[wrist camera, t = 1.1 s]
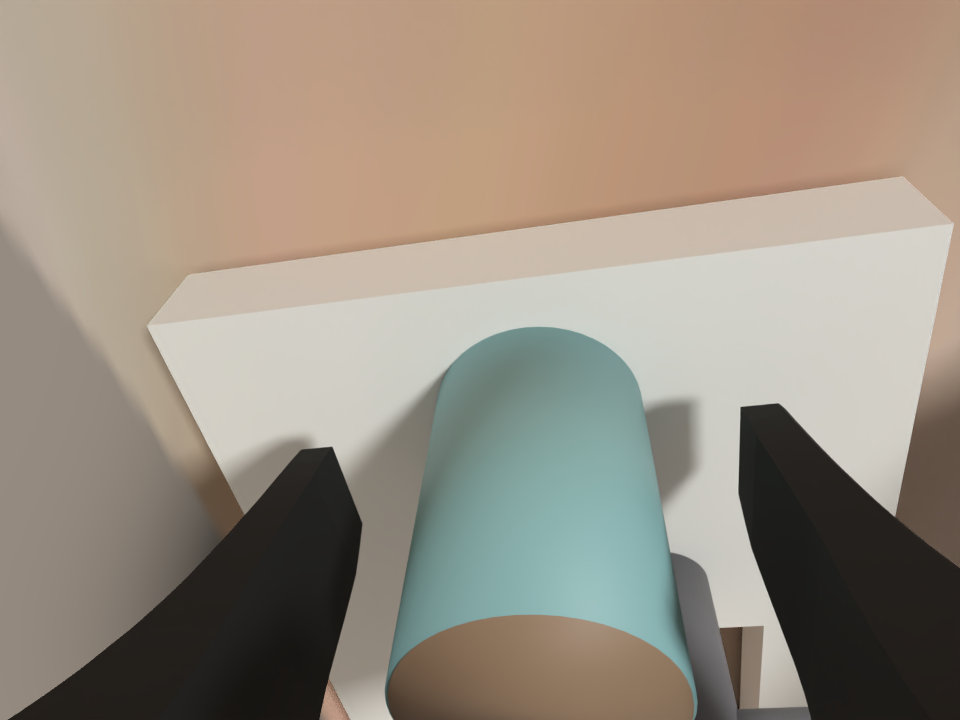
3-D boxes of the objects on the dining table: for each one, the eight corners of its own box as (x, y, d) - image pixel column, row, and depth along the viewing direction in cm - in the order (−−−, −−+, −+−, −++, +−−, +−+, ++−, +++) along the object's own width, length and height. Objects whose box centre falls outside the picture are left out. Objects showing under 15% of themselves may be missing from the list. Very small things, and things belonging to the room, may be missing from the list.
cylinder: (636, 314, 13) (695, 605, 8) (647, 477, 15) (699, 784, 10) (416, 339, 14) (346, 625, 9) (458, 493, 16) (421, 788, 11)
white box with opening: (902, 176, 13) (1146, 400, 8) (815, 747, 24) (892, 998, 19) (188, 274, 15) (3, 502, 10) (409, 757, 27) (376, 985, 21)
